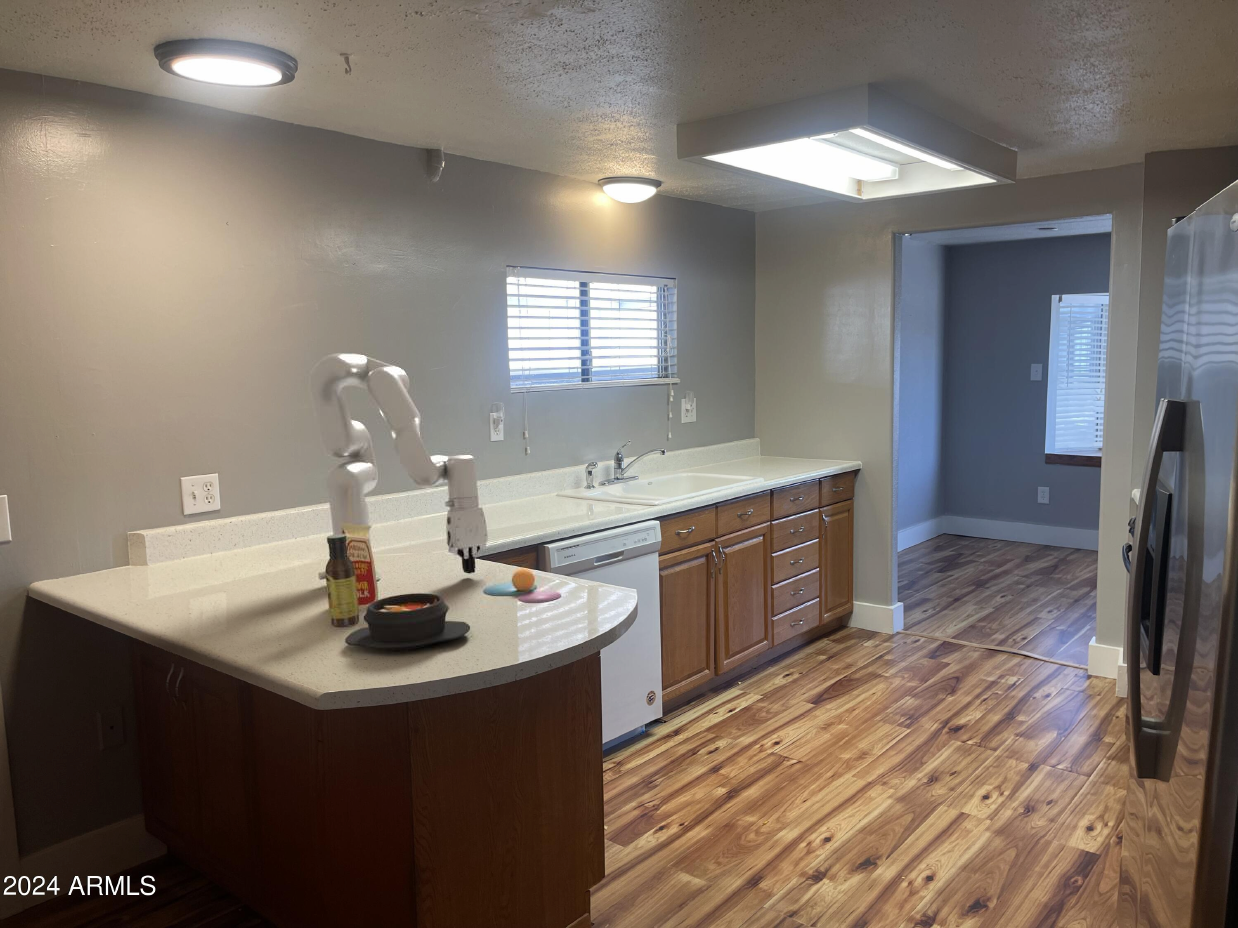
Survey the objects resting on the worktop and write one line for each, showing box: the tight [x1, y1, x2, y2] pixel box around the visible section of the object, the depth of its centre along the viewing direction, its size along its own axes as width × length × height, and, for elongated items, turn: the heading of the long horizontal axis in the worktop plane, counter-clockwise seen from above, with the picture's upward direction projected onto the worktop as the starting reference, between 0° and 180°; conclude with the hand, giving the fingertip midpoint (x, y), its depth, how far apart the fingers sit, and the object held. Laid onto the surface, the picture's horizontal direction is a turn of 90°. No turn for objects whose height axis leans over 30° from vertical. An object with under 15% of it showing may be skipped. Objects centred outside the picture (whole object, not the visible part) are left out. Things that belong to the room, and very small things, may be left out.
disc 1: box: [483, 581, 538, 597], centre depth 227 cm, size 13×13×1 cm
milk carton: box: [341, 523, 379, 609], centre depth 220 cm, size 9×9×20 cm
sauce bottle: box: [324, 534, 360, 628], centre depth 203 cm, size 6×6×20 cm
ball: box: [511, 568, 536, 591], centre depth 224 cm, size 6×6×6 cm
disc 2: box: [518, 590, 562, 604], centre depth 218 cm, size 10×10×1 cm
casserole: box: [344, 592, 471, 651], centre depth 187 cm, size 25×19×8 cm
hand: (469, 572), depth 241 cm, fingers closed
